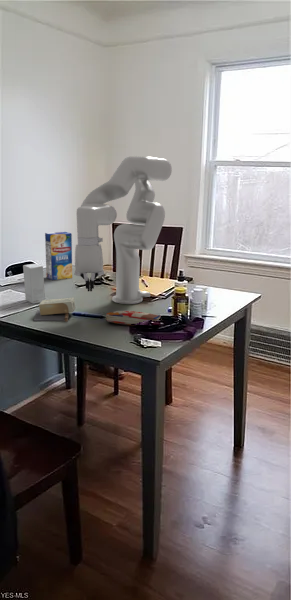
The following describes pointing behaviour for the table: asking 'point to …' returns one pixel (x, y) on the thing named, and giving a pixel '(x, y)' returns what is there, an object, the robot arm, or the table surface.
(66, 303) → the skincare box
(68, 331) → the table surface
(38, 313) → the mat
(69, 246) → the beverage box
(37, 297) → the skincare box
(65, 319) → the stop strip
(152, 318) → the pencil case
